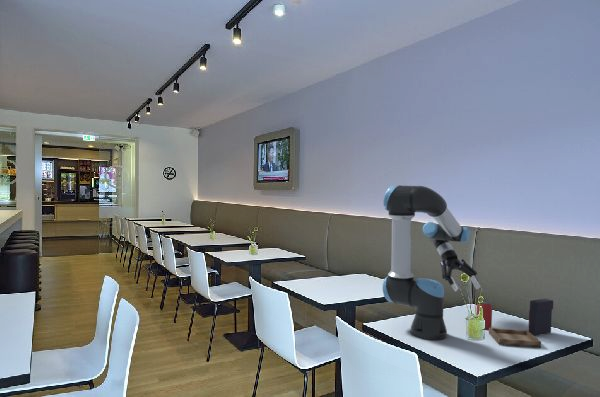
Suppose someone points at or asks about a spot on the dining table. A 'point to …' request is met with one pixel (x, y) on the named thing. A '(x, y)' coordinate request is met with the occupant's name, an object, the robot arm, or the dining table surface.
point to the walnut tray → (514, 337)
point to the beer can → (486, 313)
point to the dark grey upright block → (540, 316)
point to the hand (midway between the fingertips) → (467, 289)
